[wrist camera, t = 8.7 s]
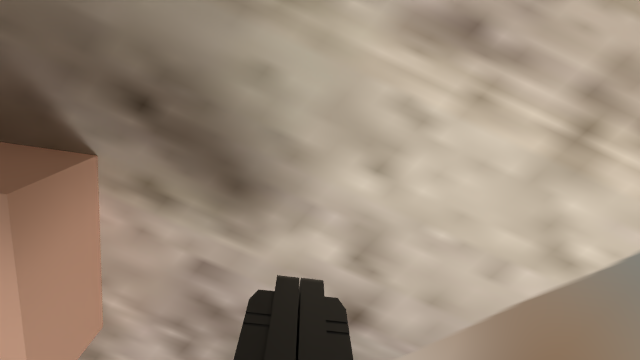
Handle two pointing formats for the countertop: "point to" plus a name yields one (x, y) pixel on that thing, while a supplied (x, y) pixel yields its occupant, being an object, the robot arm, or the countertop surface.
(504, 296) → the countertop surface
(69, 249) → the terracotta block
